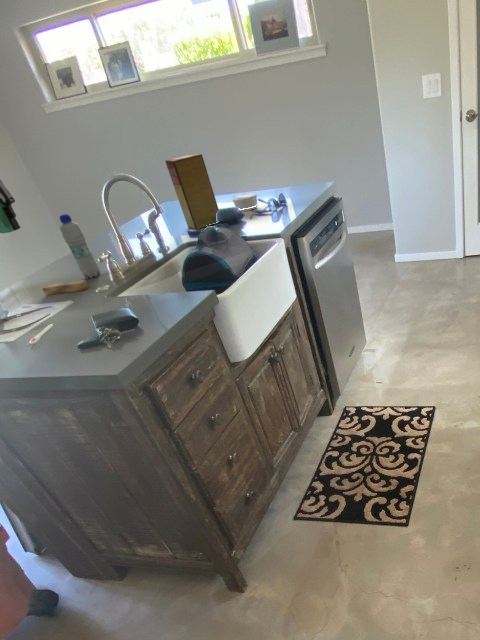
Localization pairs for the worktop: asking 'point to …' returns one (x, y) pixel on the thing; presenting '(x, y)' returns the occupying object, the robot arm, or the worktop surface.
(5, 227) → the mug
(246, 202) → the ramekin
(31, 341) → the worktop surface
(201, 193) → the food packaging
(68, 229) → the bottle
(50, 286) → the stick
